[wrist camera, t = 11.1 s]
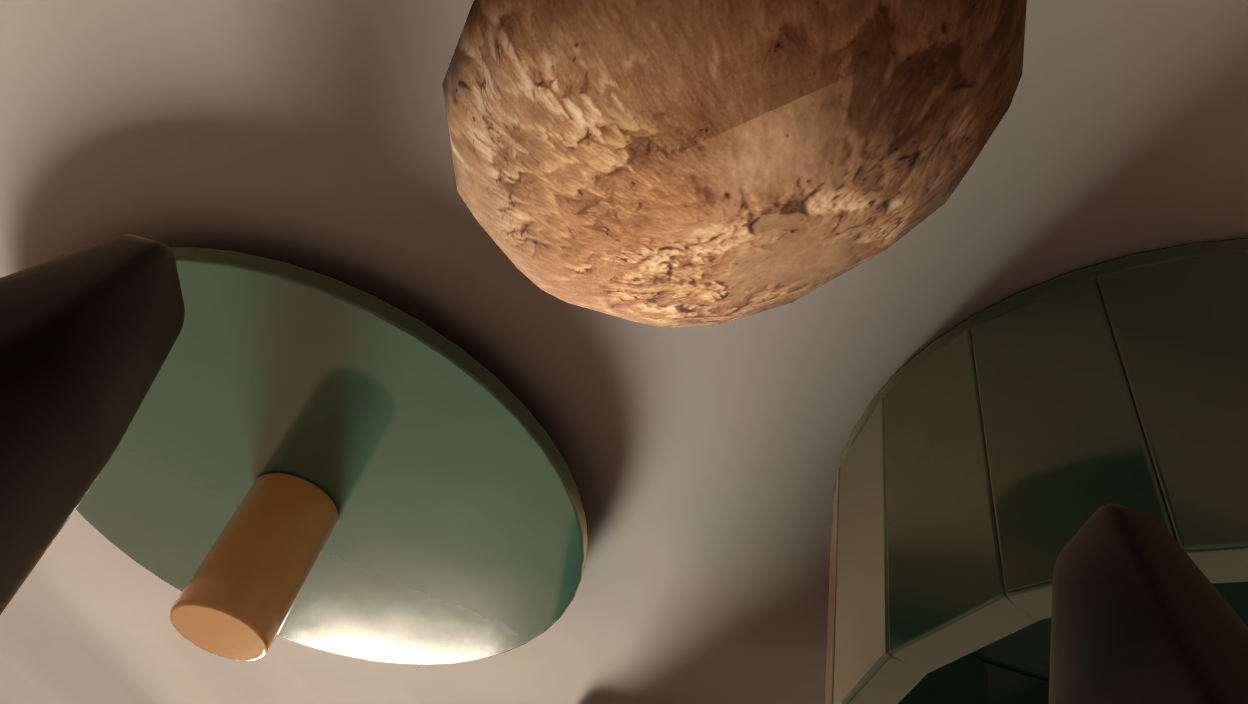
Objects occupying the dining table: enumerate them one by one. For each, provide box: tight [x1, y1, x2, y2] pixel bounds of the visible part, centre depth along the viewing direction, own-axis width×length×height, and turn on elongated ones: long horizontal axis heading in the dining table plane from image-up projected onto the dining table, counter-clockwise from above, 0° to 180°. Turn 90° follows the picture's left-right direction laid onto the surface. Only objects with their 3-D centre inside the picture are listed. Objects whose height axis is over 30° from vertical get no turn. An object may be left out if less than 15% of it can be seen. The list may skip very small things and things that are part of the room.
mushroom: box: [443, 0, 1027, 328], centre depth 13 cm, size 8×8×6 cm
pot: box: [825, 238, 1248, 704], centre depth 18 cm, size 15×15×6 cm
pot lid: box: [76, 247, 588, 664], centre depth 23 cm, size 16×16×5 cm
